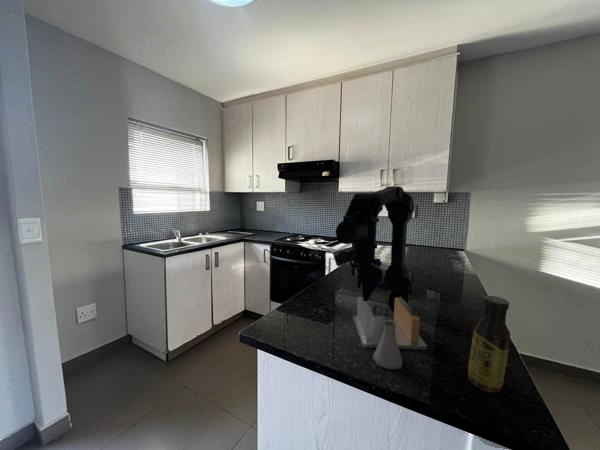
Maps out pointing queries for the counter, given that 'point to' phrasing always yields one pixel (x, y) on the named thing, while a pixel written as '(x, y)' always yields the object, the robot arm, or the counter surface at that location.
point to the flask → (388, 348)
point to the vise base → (379, 329)
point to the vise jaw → (407, 320)
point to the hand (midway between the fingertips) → (362, 294)
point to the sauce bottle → (490, 346)
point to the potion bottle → (381, 269)
